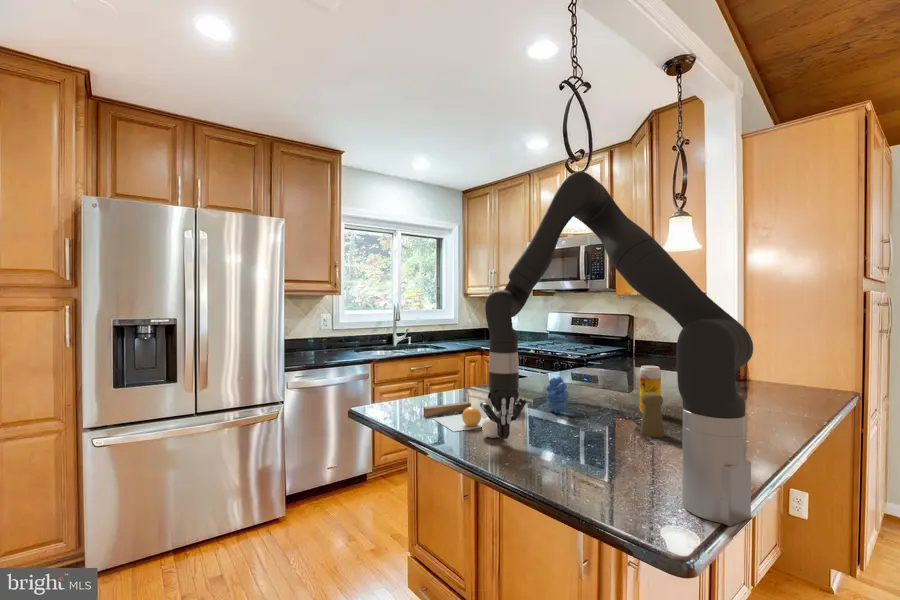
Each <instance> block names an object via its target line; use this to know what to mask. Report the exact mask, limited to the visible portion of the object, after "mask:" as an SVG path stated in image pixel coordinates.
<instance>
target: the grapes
mask: <svg viewBox="0 0 900 600" xmlns="http://www.w3.org/2000/svg"><path fill="white" fill-rule="evenodd" d="M567 388H568V386H567V384H566V383H565V382H564V380H563V378H561V376H556V377H552V378H551V379H550V380H549V382H548V385H547V386H546V387H545V390H546V391H547V393H548V394H547V395H546V396H545V400H546V401H547V402H548V405H547V408H548V409H549V410H550V411H552V412H554V413H555V414H556V413H558V414H559V413H561V412H562V411H564V410H565V408H566V407H567V404H566V401H567V400H568V399H569V392H568V391H567Z"/></svg>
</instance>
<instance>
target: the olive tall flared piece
mask: <svg viewBox="0 0 900 600" xmlns="http://www.w3.org/2000/svg"><path fill="white" fill-rule="evenodd" d="M642 402H643V404H644V409H643V414H642V418H641V424H640V431H639V433H640V434H641V435H644V436H646V437H649V438H663V437H665V429H664V428H665V427H664V420H663V414H662V405H664V404H663V403H664V398H663V396H662V394H661V395H659V394H657V393H645V394H643V396H642Z"/></svg>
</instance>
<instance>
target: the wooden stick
mask: <svg viewBox="0 0 900 600" xmlns="http://www.w3.org/2000/svg"><path fill="white" fill-rule="evenodd" d="M468 407H472V403H471V402H469V401H465V402H457V403H449V404H448V403H447V404H440V405H439V404H438V405H432V406H424V407H423V409H422V410H423V416H424V417H426V418H427V417H436V416H443V415H442V414H444V415H448V413H451V414H456V413H455V412H458V413H462V412H461V411H464V410H465V409H466V408H468ZM435 415H436V416H435Z"/></svg>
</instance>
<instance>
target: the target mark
mask: <svg viewBox="0 0 900 600" xmlns="http://www.w3.org/2000/svg"><path fill="white" fill-rule="evenodd" d="M462 414H463V413H461V414H455V415H447V416H440V417H433V418H432V419H433V420H434V421H435V422H437V423H439V424H440V425H442V426H444V427H445V428H446V429H448V430H450V431H451V432H452V433H456V432H464V431H470V430H475V429H482V428H481V427H482V423H483V421H484V420H485V419H486V418H484V417H483V416H481V421H480V422H479V424H478V425H476V426H473V427H470V426H467V425H466V424H465V423H464V422H463V420H462ZM463 430H464V431H463Z"/></svg>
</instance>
